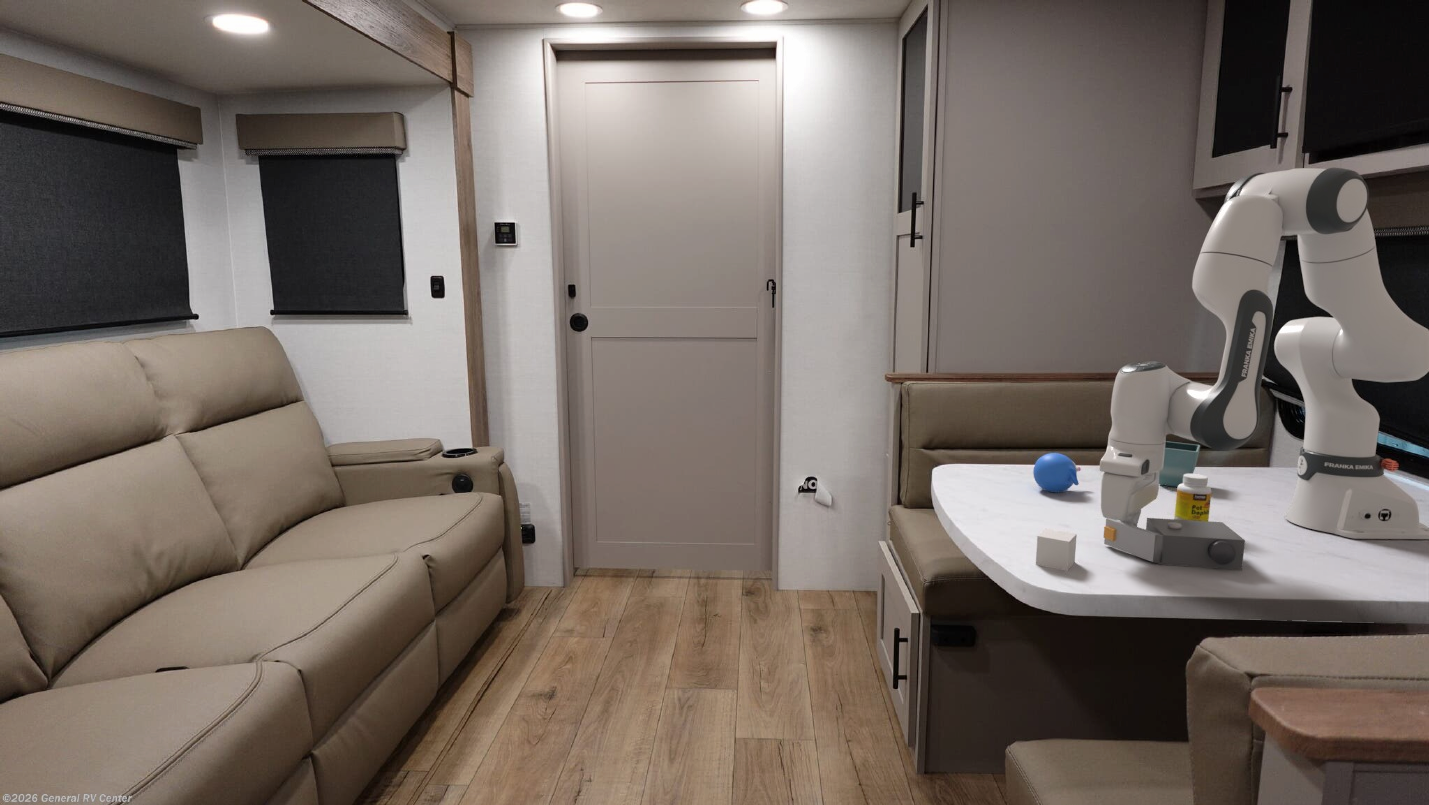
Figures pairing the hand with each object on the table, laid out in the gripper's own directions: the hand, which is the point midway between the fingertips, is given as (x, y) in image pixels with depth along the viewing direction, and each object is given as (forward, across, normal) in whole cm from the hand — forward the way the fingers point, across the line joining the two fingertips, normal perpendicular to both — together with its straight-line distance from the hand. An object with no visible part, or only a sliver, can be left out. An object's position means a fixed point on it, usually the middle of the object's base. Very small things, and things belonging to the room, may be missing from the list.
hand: (1128, 534), depth 150 cm
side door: (+2, +4, +2) cm, 5 cm away
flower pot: (+2, -53, -6) cm, 53 cm away
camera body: (+2, -2, +10) cm, 10 cm away
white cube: (+3, +17, -6) cm, 18 cm away
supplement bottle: (+2, -19, +6) cm, 20 cm away
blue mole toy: (+2, -30, -23) cm, 38 cm away
